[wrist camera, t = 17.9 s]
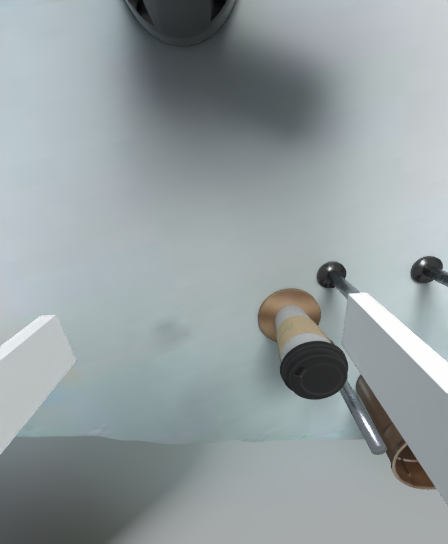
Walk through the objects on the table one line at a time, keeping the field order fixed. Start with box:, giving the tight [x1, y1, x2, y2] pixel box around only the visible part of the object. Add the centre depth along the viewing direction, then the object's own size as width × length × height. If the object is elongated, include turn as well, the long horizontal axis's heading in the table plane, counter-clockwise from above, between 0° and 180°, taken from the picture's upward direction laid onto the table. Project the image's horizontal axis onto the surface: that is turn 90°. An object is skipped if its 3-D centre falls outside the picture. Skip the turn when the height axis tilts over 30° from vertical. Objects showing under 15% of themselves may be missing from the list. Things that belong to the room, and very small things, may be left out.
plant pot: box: [357, 375, 436, 490], centre depth 45 cm, size 16×16×16 cm
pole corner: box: [317, 262, 360, 299], centre depth 34 cm, size 5×5×20 cm
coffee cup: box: [275, 305, 348, 399], centre depth 39 cm, size 9×9×15 cm
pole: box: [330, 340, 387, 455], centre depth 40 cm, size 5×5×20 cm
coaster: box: [258, 289, 321, 342], centre depth 46 cm, size 12×12×1 cm
